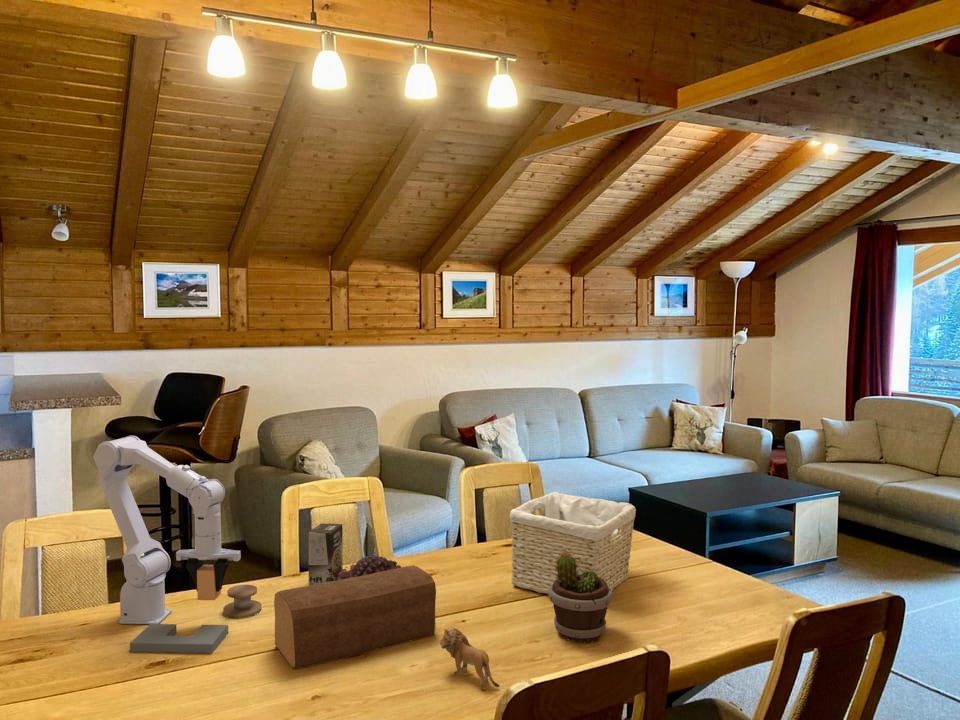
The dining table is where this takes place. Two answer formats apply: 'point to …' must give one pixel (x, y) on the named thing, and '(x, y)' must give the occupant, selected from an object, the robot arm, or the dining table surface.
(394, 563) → the purple lumpy cluster
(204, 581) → the copper block
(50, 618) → the dining table surface
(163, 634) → the notched board
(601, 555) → the basket
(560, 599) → the flowerpot
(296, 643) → the bread
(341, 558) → the coffee box
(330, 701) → the dining table surface
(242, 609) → the spool post
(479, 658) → the lion figurine
